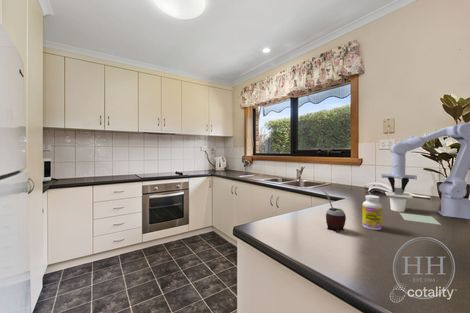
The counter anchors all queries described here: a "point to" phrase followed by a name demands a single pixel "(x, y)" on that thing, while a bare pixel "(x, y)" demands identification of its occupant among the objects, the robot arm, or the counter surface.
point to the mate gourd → (335, 218)
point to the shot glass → (397, 204)
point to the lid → (398, 193)
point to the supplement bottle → (372, 213)
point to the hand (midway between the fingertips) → (397, 192)
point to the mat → (419, 218)
